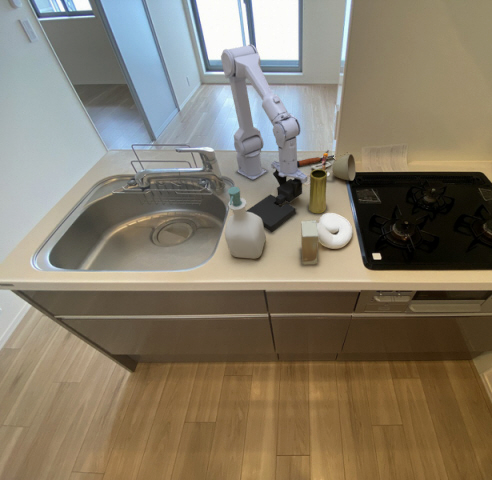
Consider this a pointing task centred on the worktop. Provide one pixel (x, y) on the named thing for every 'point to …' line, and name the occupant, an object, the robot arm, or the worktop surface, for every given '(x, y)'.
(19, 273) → the worktop surface
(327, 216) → the sculpture
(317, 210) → the vase
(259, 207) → the base pad
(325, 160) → the action figure
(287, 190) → the black block with stub
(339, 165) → the cup
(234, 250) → the soap bottle
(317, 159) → the knife
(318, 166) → the soap
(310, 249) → the cosmetic box
